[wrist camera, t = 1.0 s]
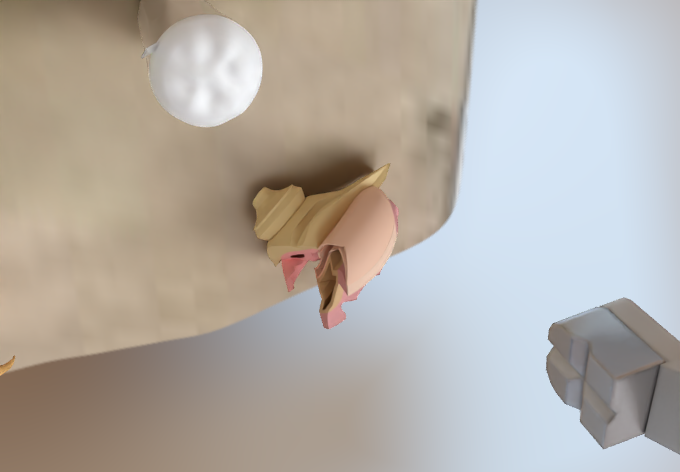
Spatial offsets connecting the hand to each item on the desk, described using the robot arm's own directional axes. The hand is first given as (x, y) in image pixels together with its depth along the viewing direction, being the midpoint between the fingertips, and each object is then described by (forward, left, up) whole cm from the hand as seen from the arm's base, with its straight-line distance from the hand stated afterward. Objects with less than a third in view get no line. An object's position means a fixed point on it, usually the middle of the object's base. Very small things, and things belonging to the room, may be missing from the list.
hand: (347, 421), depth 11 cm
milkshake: (+1, 0, -27) cm, 27 cm away
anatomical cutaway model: (+12, -11, -27) cm, 31 cm away
